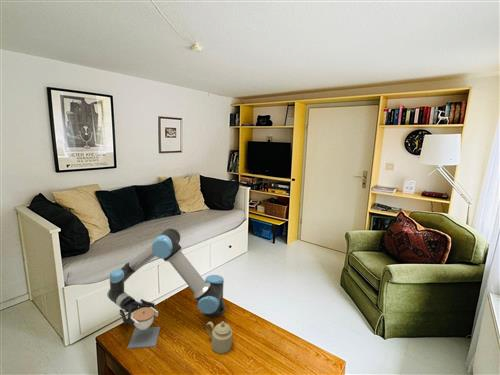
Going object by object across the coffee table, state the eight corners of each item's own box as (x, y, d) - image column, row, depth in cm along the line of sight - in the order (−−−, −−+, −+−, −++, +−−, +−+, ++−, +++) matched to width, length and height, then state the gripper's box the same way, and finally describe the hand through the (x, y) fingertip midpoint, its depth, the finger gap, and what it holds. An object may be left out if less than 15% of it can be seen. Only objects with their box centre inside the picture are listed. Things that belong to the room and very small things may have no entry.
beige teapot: (202, 352, 137) (203, 327, 134) (206, 336, 148) (207, 313, 145) (230, 354, 137) (232, 329, 134) (232, 338, 148) (233, 314, 145)
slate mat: (160, 327, 152) (160, 326, 152) (155, 346, 139) (155, 345, 139) (134, 329, 150) (134, 328, 150) (127, 348, 137) (127, 347, 136)
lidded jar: (133, 321, 146) (132, 306, 144) (153, 317, 150) (153, 302, 148) (133, 335, 136) (132, 319, 134) (154, 330, 140) (154, 314, 139)
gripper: (144, 299, 162) (166, 314, 150) (105, 318, 144) (127, 338, 131) (144, 288, 161) (166, 303, 148) (105, 306, 142) (127, 325, 130)
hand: (148, 319), depth 140 cm, fingers closed on lidded jar, 11 cm apart
